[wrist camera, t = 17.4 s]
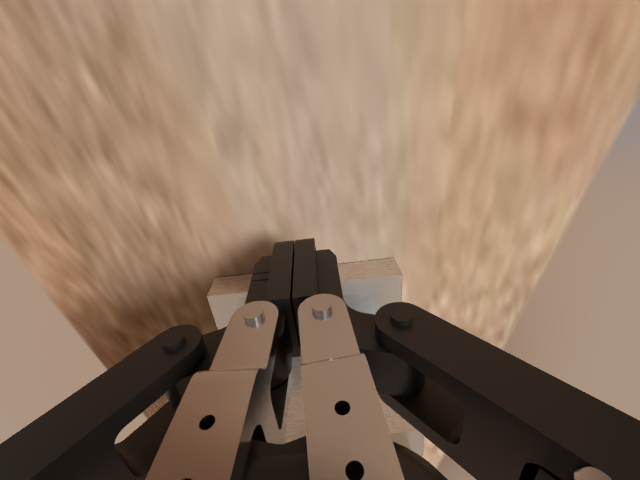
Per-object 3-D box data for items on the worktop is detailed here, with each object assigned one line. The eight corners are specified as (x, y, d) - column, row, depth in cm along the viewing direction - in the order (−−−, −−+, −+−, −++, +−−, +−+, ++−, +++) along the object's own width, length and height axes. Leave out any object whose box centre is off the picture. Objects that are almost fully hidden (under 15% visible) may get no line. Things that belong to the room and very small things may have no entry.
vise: (214, 278, 16) (163, 393, 10) (394, 257, 16) (445, 362, 10) (270, 459, 23) (259, 585, 18) (393, 446, 23) (422, 568, 17)
